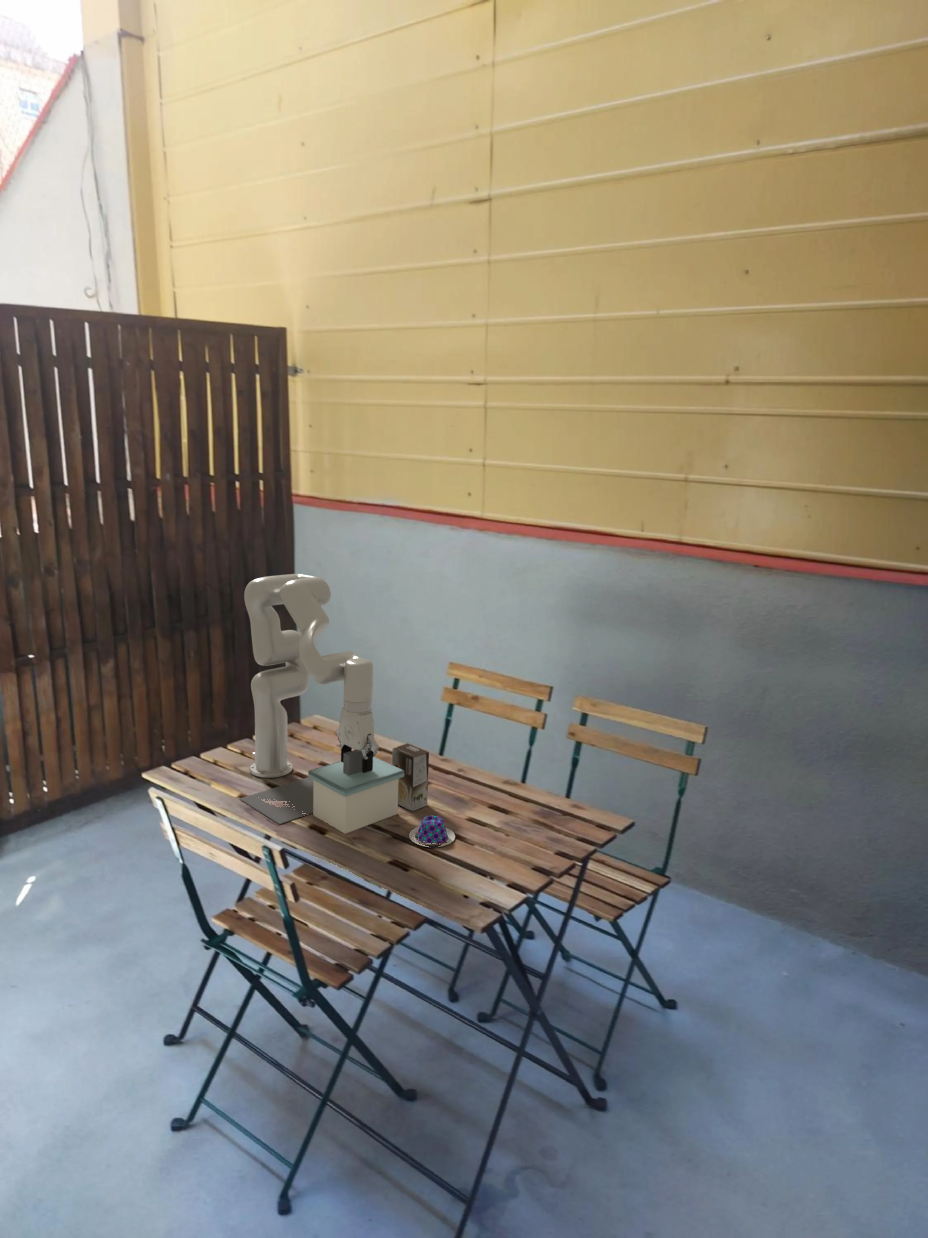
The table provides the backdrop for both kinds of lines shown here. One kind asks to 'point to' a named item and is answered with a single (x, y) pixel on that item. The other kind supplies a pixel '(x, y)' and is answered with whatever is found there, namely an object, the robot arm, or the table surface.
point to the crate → (355, 806)
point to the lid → (354, 774)
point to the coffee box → (412, 775)
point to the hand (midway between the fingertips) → (356, 766)
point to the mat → (293, 792)
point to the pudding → (432, 831)
